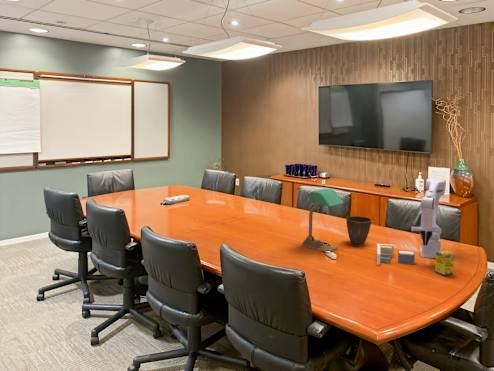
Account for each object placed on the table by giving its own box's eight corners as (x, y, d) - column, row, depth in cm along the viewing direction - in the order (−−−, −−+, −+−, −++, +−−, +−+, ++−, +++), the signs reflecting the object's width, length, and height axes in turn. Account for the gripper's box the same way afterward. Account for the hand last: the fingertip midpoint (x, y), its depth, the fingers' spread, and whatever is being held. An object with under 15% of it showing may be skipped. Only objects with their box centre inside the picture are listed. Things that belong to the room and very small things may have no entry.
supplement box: (444, 276, 210) (445, 254, 208) (434, 272, 216) (436, 251, 214) (452, 274, 212) (454, 253, 211) (443, 270, 218) (444, 249, 216)
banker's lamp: (313, 241, 267) (315, 186, 262) (342, 249, 253) (345, 190, 247) (298, 247, 256) (299, 189, 250) (327, 255, 242) (329, 194, 236)
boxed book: (413, 261, 231) (414, 252, 230) (414, 264, 227) (414, 254, 226) (397, 260, 233) (398, 250, 232) (398, 263, 229) (398, 253, 228)
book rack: (393, 255, 242) (393, 245, 241) (394, 266, 224) (395, 255, 223) (376, 253, 244) (377, 243, 243) (376, 264, 226) (377, 253, 225)
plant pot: (374, 244, 262) (375, 218, 260) (363, 249, 251) (364, 223, 249) (352, 239, 272) (353, 215, 270) (340, 244, 261) (341, 219, 259)
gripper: (412, 220, 222) (411, 246, 224) (443, 222, 218) (441, 248, 220) (411, 217, 229) (410, 242, 231) (441, 219, 225) (439, 244, 227)
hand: (425, 245), depth 226 cm, fingers closed
